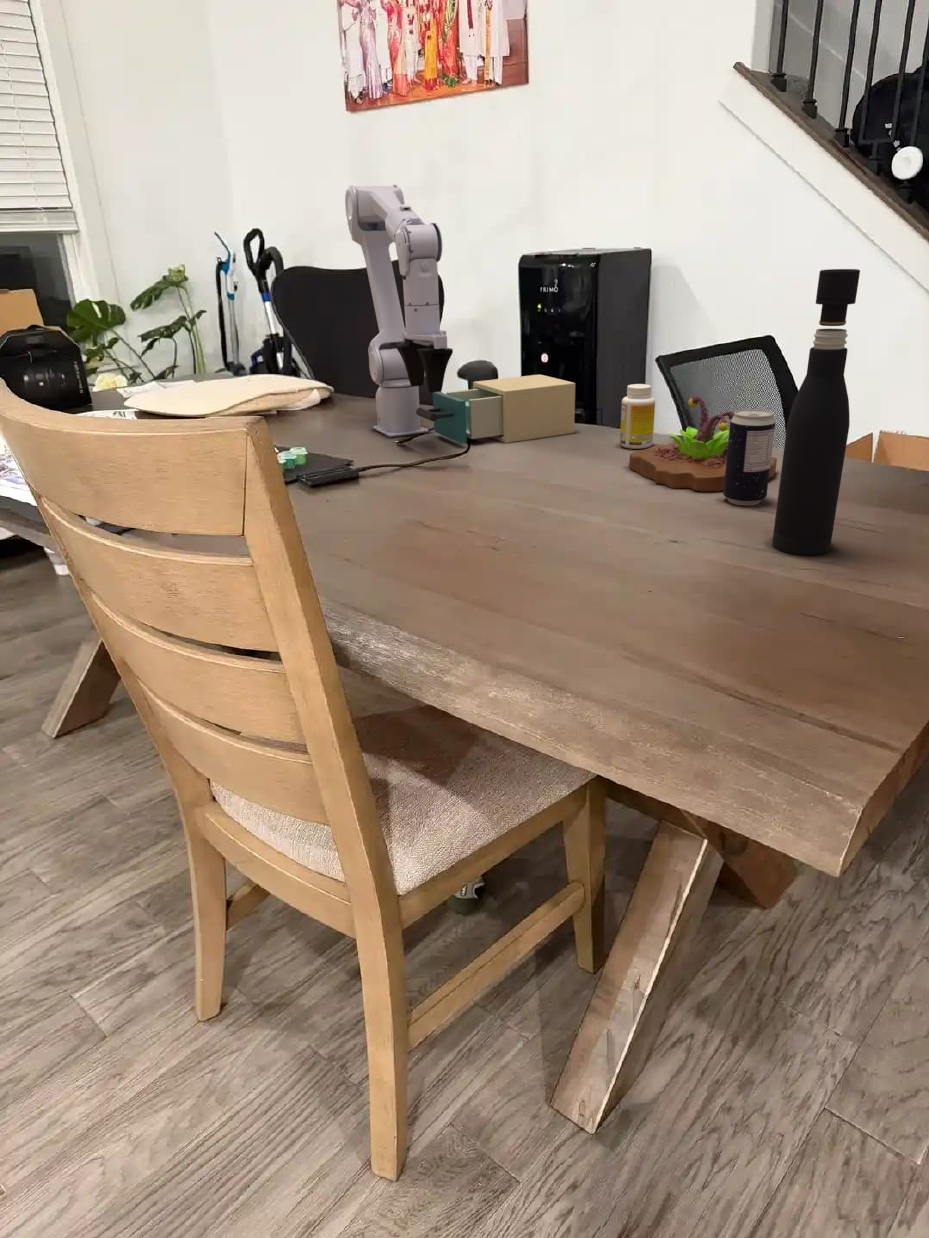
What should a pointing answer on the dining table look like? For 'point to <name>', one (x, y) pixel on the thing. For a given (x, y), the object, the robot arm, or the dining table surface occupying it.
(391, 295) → the robot arm
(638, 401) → the supplement bottle
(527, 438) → the beige box
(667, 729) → the dining table surface
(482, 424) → the drawer
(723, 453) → the plant
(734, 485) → the beverage can
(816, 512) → the black water bottle
